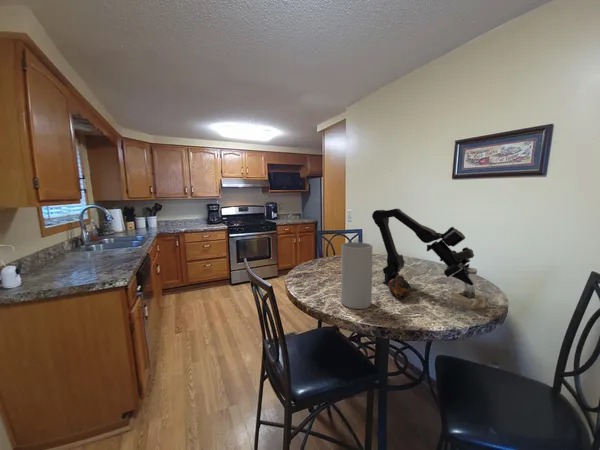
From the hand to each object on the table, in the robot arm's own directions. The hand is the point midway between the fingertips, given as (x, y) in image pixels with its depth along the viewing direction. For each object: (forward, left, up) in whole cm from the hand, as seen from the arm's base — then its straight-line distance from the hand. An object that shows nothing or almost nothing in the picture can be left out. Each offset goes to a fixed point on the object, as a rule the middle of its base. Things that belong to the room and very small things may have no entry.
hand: (473, 283), depth 99 cm
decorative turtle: (-23, +17, -9) cm, 30 cm away
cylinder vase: (-46, +14, -9) cm, 49 cm away
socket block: (-1, +1, -9) cm, 9 cm away
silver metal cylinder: (-1, +1, -7) cm, 7 cm away
